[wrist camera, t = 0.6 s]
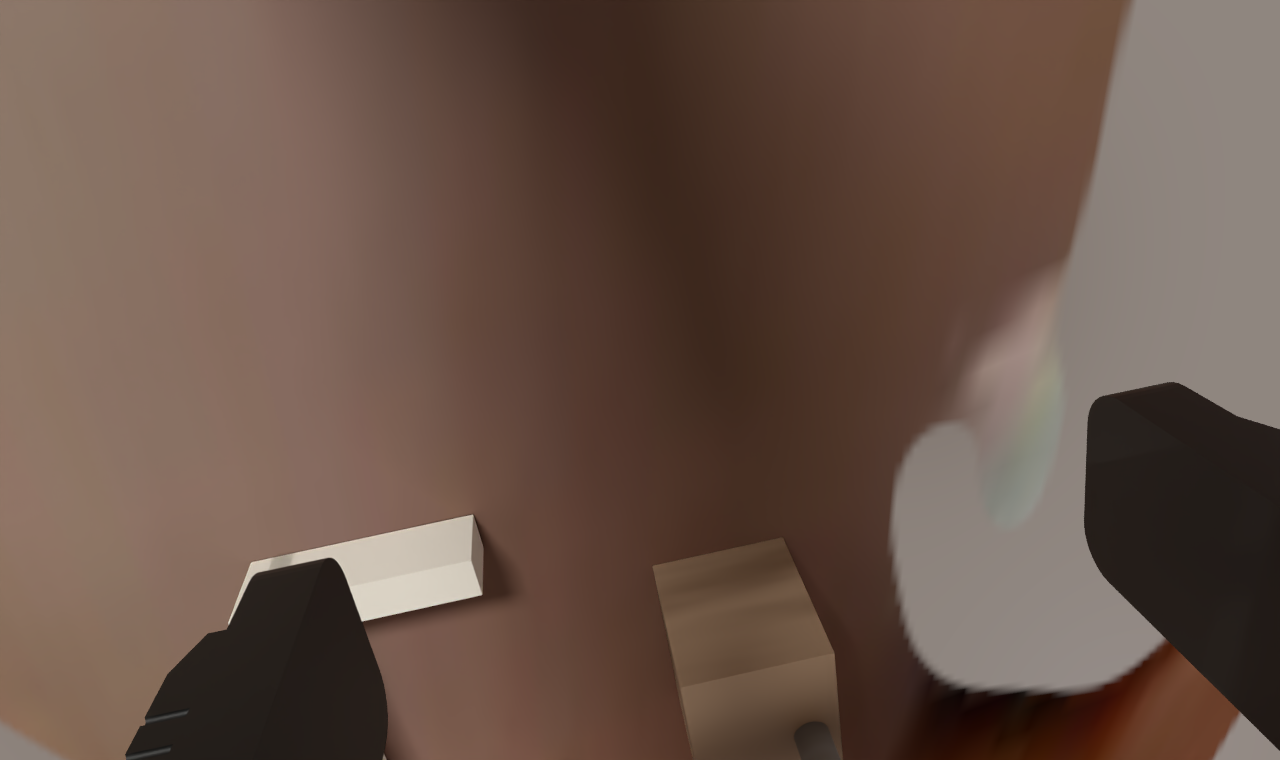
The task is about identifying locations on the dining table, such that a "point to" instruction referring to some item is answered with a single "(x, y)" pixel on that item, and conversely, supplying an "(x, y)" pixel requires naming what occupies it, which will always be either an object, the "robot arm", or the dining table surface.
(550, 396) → the dining table surface
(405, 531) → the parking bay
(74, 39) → the dining table surface
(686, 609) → the tan block
